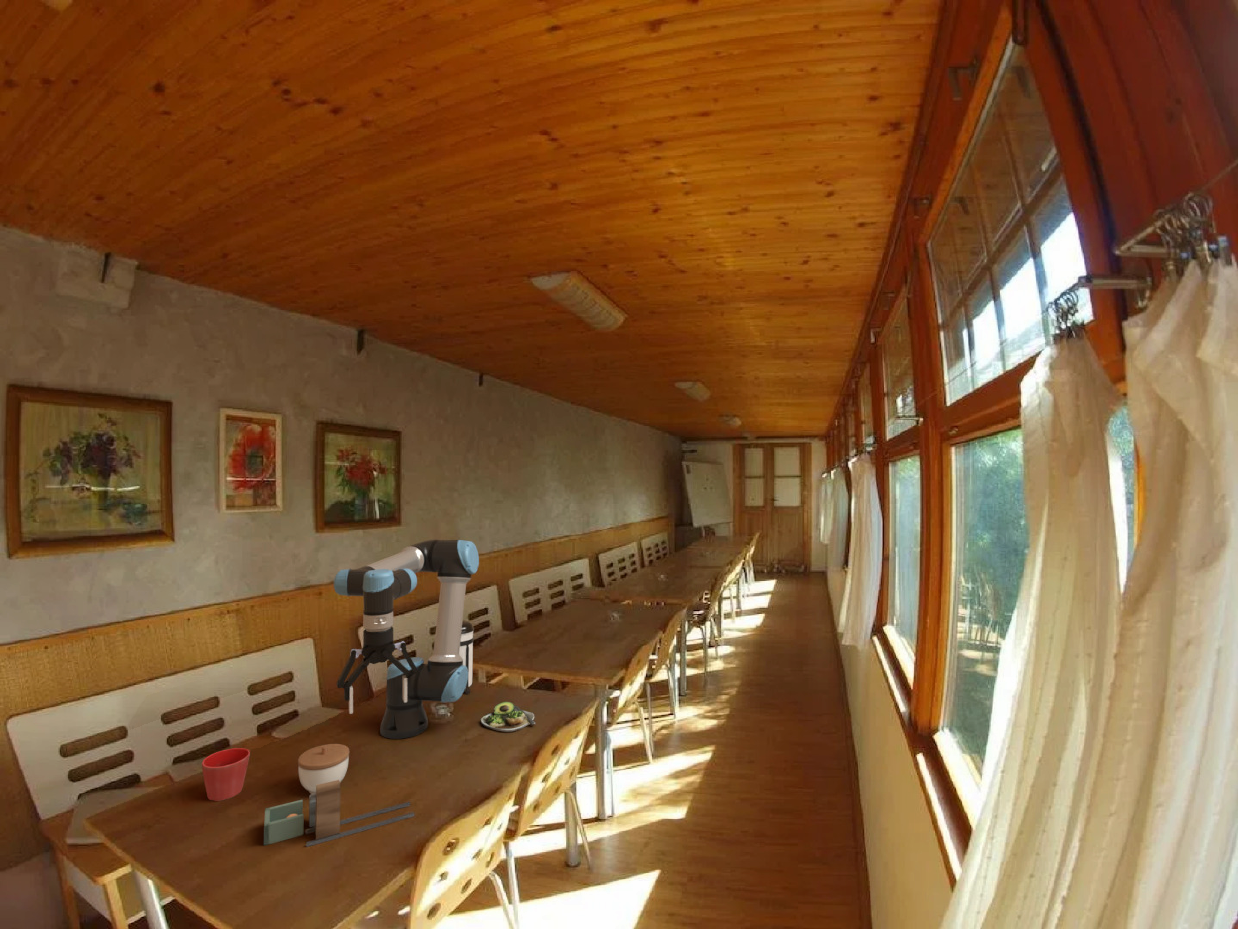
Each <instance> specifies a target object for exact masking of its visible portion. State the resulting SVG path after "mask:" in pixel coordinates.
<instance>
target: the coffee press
mask: <svg viewBox="0 0 1238 929" xmlns="http://www.w3.org/2000/svg"><path fill="white" fill-rule="evenodd" d="M474 630H475V627H474V626H473V623H472V622H470V621H468V620H464V619H463V621H462V631H461V641H460V651H459V655H460V656H461V658H462V659H463V665H464V666H466V667H467V669H468V680H467V684H466V687H465V690H464V692H463V693H465V695H469V694H470V693H471V690H470V687H471V686H472V685H473V664H474V662H473V661H474V660H473V659H474V658H473V657H474V656H473V655H474V654H473V651H474V646H473V645H474Z"/></svg>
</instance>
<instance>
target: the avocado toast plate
mask: <svg viewBox="0 0 1238 929" xmlns="http://www.w3.org/2000/svg"><path fill="white" fill-rule="evenodd" d="M534 720H535V714H534V713H533V712H530V711H526V710H523V709H522V708H521V707H519V706H518V705H515V704H514V703H512V702H510V701H503V702H500V703H498V704H496V705H495V706H494V708H493V712H490V713H488V714H487V715H484V716H483V717H481V718H480V724H481V726H482V727H484V728H486V729H489V730H493V731H498V732H504V733H513V732H518V731H520V730H522V729H523V728H526V727H528V726H530V725H531V726H532V725H536V722H535V721H534ZM505 726H511V728H501V727H505ZM517 730H518V731H517Z"/></svg>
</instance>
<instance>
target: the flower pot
mask: <svg viewBox="0 0 1238 929" xmlns="http://www.w3.org/2000/svg"><path fill="white" fill-rule="evenodd" d="M250 755H251V751H250V750H249V749H247V748H243V747H242V748H241V747H233V748H227V749H224V750H220V751H216V752H214V753H212V754H210V755H208V756H207V757H204V759H203V760H202V762H201V768H202V773H203V774H202V775H203V781H204V786H205V790H206V795H207V799H208V800H209V801H215V802H216V801H217V802H219V801H224V800H229V799H231V798H233V797H235V796H237V795H239V794H240V793H241V792H242V790H243V787H244V783H245V779H246V774H247V769H248V765H249V760H250Z"/></svg>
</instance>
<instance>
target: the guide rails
mask: <svg viewBox="0 0 1238 929" xmlns="http://www.w3.org/2000/svg"><path fill="white" fill-rule="evenodd" d="M410 806H411V801H410V800H409V801H406V802H403V803H398V804H395V805H391V806H387V807H385V808H380V809H377V810H374V811H369V812H366V813H362V814H358V815H355V816H350V817H347V818H343V819H340V826H341V825H345V824H348V823H351V822H352V823H353V822H356V821H359V820H363V819H366V818H371V817H374V816H378V815H382V814H385V813H388V812H391V811H395V810H399V809H402V808H407V807H410ZM413 817H415V811H412V812H409V813H405V814H404V813H403V814H401V815H396V816H394V817H391V818H387V819H383V820H380V821H377V822H373V823H369V824H366V825H363V826H359V827H358V826H357V827H355V828H352V829H348V830H344V831H342V832H341V831H340V833H337V834H333V835H330V836H326V837H323V838H319V839H316V838H315V839H313V840H309V841H306V845H305V847H307V848H308V847H311V846H315V845H319V844H322V843H326V842H328V841H333V840H335V839H339V838H342V837H346V836H349V835H354V834H357V833H360V832H363V831H367V830H371V829H374V828H378V827H381V826H382V827H383V826H384V825H389V824H392V823H395V822H399V821H403V820H405V819H409V818H413ZM311 833H315V826H313V827H309V828H307V829H305V835H309V834H311Z"/></svg>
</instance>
